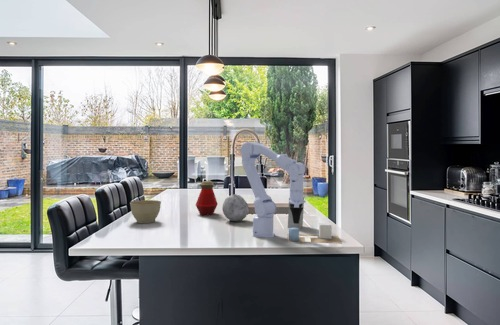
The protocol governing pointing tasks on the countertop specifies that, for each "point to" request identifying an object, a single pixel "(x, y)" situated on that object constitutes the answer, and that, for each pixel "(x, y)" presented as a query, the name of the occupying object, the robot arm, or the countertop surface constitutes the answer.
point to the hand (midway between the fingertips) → (296, 221)
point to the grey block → (325, 230)
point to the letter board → (317, 239)
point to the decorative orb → (235, 208)
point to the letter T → (308, 238)
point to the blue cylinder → (294, 234)
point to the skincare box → (290, 218)
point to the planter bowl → (145, 210)
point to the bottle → (206, 199)
